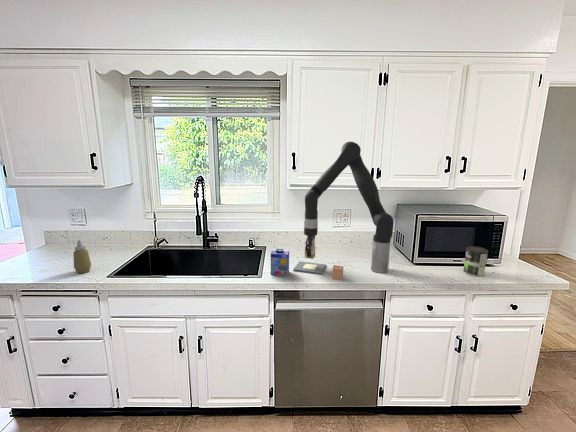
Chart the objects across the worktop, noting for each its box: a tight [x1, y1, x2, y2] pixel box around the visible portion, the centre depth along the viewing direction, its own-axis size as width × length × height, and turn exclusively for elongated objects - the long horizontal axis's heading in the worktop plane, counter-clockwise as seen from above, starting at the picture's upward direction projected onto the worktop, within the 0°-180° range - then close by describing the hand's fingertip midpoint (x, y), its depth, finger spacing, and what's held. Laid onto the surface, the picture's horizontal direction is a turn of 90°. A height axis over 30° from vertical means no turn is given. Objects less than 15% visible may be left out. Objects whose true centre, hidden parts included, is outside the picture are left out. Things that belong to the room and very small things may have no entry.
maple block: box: [304, 245, 316, 260], centre depth 176 cm, size 5×5×6 cm
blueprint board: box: [292, 260, 327, 275], centre depth 178 cm, size 16×13×1 cm
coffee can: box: [462, 245, 489, 278], centre depth 172 cm, size 10×10×14 cm
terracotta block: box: [331, 264, 344, 281], centre depth 165 cm, size 5×5×6 cm
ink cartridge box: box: [270, 248, 290, 276], centre depth 170 cm, size 10×6×14 cm, turn 86°
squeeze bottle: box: [73, 239, 92, 275], centre depth 169 cm, size 8×8×18 cm
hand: (310, 255), depth 176 cm, fingers closed on maple block, 5 cm apart
